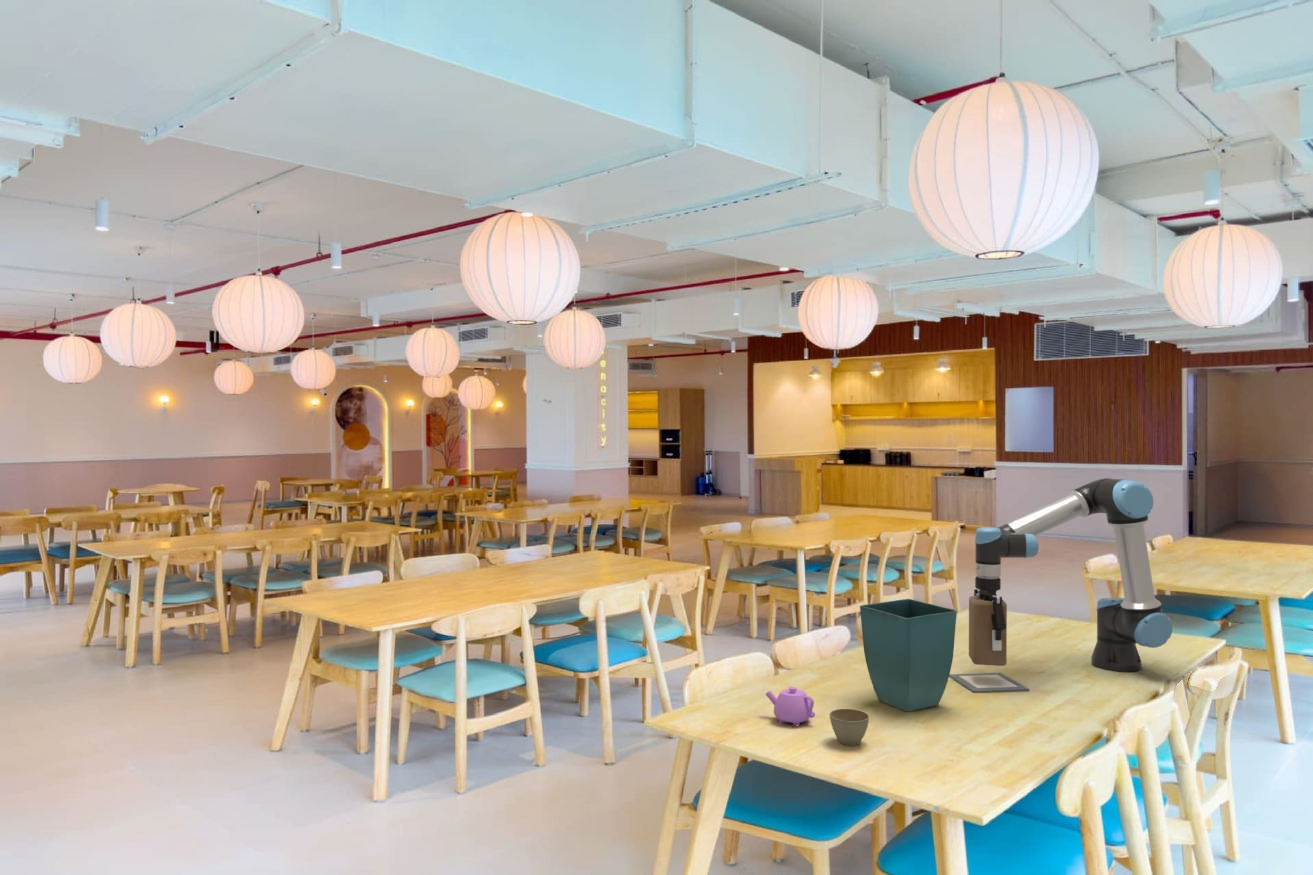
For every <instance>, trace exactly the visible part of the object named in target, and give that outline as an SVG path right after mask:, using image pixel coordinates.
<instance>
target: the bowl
mask: <svg viewBox="0 0 1313 875" xmlns="http://www.w3.org/2000/svg"><path fill="white" fill-rule="evenodd" d="M829 720H830V724H831V726H832V727H831V728H832V730H833V732H834V735H835V737H836V738H837V740H838V742H839V743H840V744H841V745H844V746H858V745H859V744H860V743H861V741H862V740H863V738H864V736H865V735H866V732H867V730H868V727H869V721H870V715H869V713H867V712H866V711H863V710H860V709H855V708H836V709H833V710H831V711H830V712H829Z"/></svg>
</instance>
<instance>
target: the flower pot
mask: <svg viewBox="0 0 1313 875" xmlns="http://www.w3.org/2000/svg"><path fill="white" fill-rule="evenodd" d="M859 611H860V620H861V621H860V622H861V633H862V634H861V635H862V644H863V653H864V659H865V663H866V667H867V671H868V675H869V678H870V680H871V684H872V687H873V690H874V692H875V696H876V698H877V700H878V701H879V702H882V703H885V704H887V705H890V706H892V707H895V708H897V709H899V710H902V711H905V712H912V711H918V710H922V709H927V708H932V707H936V706H939V705H940V703H941V700H942V698H943V696H944V694H945V690H946V687H947V684H948V681H949V678H950V677H949V674H951V668H952V664H953V661H954V660H953V659H954V648H955V637H956V624H957V615H958V614H957V613H958V612H957V610H955V609H953V608H952V609H951V608H947V607H945V606H941V605H937V604H932V603H927V602H923V601H919V600H915V599H911V598H905V599H897V600H889V601H883V602H876V603H875V602H874V603H869V604H868V603H867V604H863V605H862V604H861V605H859Z"/></svg>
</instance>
